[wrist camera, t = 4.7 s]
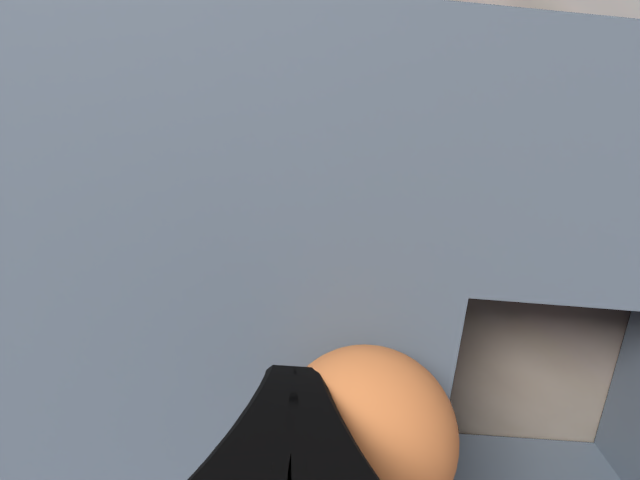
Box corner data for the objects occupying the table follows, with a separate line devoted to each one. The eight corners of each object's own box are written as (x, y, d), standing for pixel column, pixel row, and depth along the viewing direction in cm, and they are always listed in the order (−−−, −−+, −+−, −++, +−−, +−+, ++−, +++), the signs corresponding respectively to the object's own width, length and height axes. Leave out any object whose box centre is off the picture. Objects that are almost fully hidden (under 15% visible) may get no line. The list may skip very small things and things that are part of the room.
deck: (630, 598, 17) (710, 732, 14) (-105, 556, 16) (-215, 688, 13) (819, 49, 12) (1015, 46, 9) (-218, -51, 11) (-445, -97, 8)
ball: (355, 626, 9) (231, 484, 11) (468, 510, 11) (348, 411, 13) (397, 481, 8) (245, 348, 10) (518, 382, 10) (373, 291, 12)
